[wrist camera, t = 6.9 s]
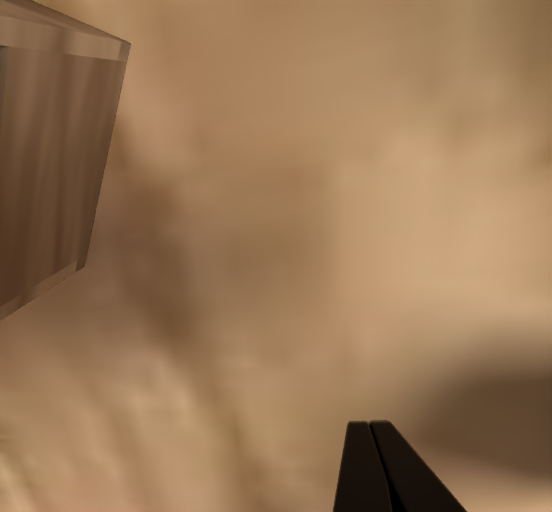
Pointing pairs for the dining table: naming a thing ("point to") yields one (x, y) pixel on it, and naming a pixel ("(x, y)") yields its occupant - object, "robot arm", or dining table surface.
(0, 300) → the walnut box
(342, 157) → the dining table surface
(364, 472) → the robot arm
